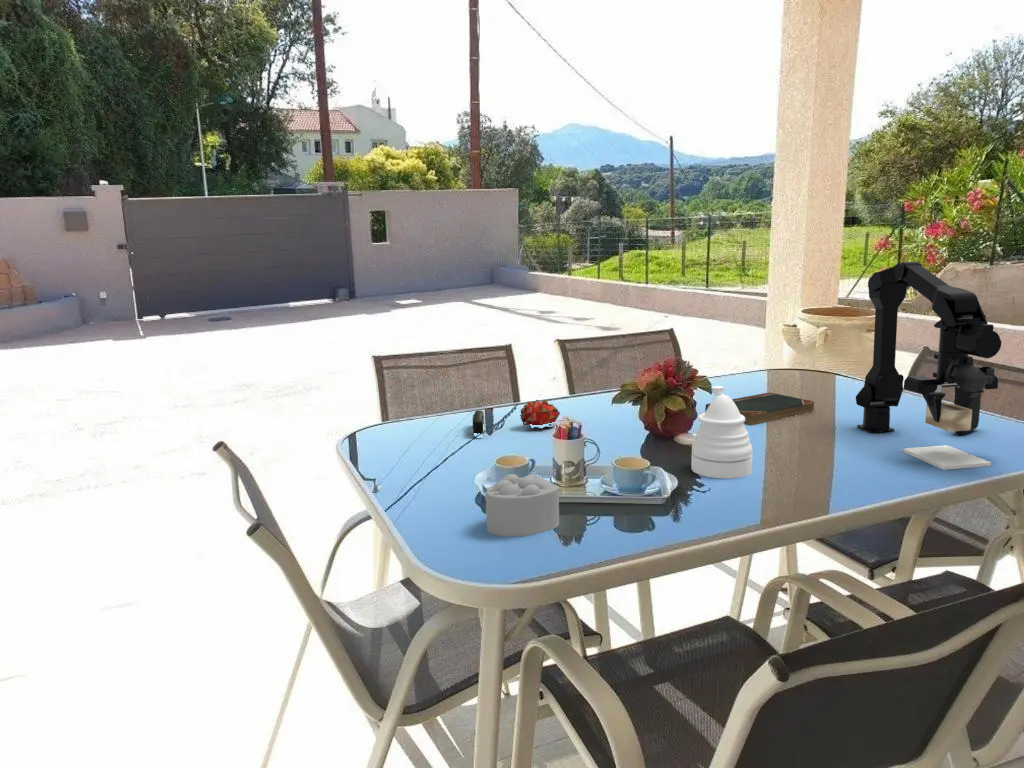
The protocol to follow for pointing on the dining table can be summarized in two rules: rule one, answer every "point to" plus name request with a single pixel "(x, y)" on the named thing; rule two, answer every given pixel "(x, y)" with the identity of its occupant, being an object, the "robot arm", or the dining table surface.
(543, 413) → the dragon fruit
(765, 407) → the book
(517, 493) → the lumpy-topped squat cylinder
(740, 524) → the dining table surface
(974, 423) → the carrying case or bag
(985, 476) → the dining table surface
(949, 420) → the tan rectangular block
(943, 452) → the mat
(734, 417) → the honey pot
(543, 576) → the dining table surface
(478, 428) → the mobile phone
